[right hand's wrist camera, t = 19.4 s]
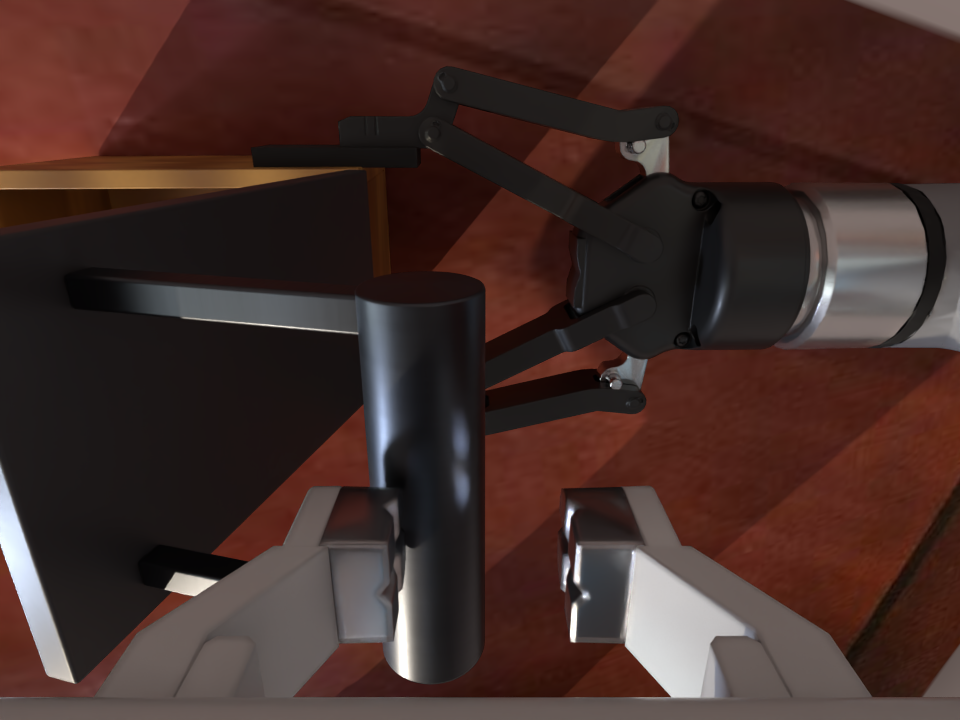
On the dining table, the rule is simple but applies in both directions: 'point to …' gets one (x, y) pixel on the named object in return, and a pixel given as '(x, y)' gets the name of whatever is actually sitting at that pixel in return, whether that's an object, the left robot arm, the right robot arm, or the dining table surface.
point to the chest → (158, 187)
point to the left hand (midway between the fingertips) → (276, 270)
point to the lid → (229, 407)
